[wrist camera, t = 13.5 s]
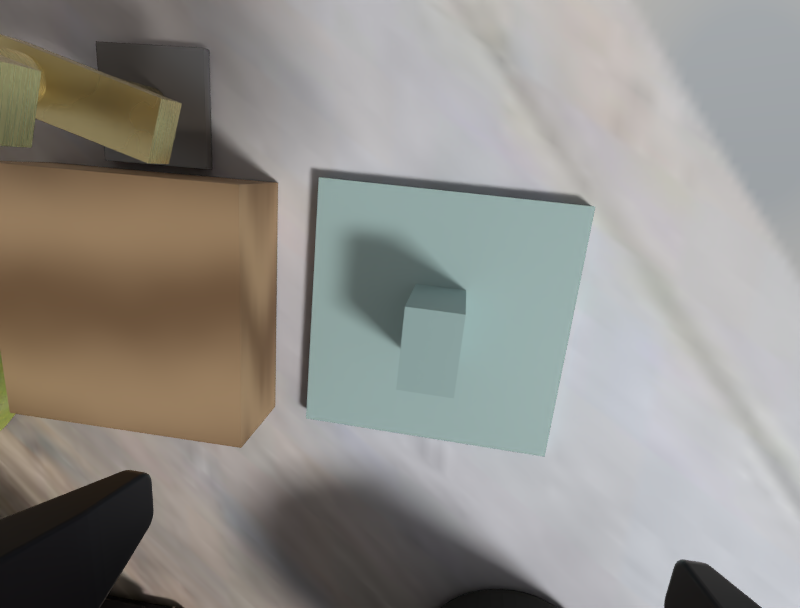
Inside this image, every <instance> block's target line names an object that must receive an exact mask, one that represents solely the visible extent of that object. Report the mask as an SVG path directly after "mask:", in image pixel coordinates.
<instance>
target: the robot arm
mask: <svg viewBox="0 0 800 608" xmlns="http://www.w3.org/2000/svg"><path fill="white" fill-rule="evenodd" d="M152 518H153V496H152V482H151V478H150V476H149V475H148V474H147V473H144V472H138V471H132V470H125V471H122V472H119V473H117V474H114V475H112V476H109V477H107V478H104V479H102V480H99V481H97V482H94V483H92V484H89V485H86V486H84V487H81V488H79V489H76V490H74V491H71V492H69V493H66V494H64V495H61V496H59V497H56V498H54V499H51V500H49V501H46V502H44V503H41V504H39V505H36V506H34V507H31V508H28V509H26V510H23V511H21V512H18V513H16V514H13V515H11V516H8V517H6V518H3V519H1V520H0V608H170V607H165V606H160V605H154V604H149V603H144V602H139V601H133V600H128V599H123V598H118V597H112V596H108V594H109V592H110V591H111V589H112V587H113V586H114V584H115V582H116V581H117V579H118V577H119V576H120V574H121V572H122V571H123V569H124V568H125V566H126V564H127V563H128V561H129V559H130V558H131V556H132V554H133V553H134V551H135V549H136V548H137V546H138V544H139V543H140V541H141V539H142V538H143V536H144V534H145V533H146V531H147V529H148V528H149V526H150V524H151V521H152ZM664 608H762V607H760V606H759V605H758V604H757V603H755V602H754V601H753V600H752V599H750V598H749V597H748V596H747V595H745V594H744V593H743V592H742V591H740V590H739V589H738V588H737V587H735V586H734V585H733V584H732V583H731V582H729V581H728V580H727V579H726V578H724V577H723V576H722V575H721V574H719V573H718V572H717V571H716V570H714V569H713V568H712V567H711V566H709V565H708V564H705V563H702V562H696V561H689V560H679V561H677V563H676V564H675V566H674V569H673V572H672V576H671V579H670V583H669V586H668V590H667V593H666V597H665V603H664Z"/></svg>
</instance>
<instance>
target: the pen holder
mask: <svg viewBox="0 0 800 608" xmlns="http://www.w3.org/2000/svg"><path fill="white" fill-rule="evenodd" d="M441 608H556V607H555V606H553V605H552V604H550V603H548V602H546V601H544V600H542V599H540V598H538V597H536V596H532V595H529V594H526V593H522V592H518V591H512V590H503V589H490V590H481V591H476V592H471V593H468V594H465V595H462V596H460V597H457V598H455V599H453V600H451V601H450V602H448V603H447V604H445V605H444V606H443V607H441Z"/></svg>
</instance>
